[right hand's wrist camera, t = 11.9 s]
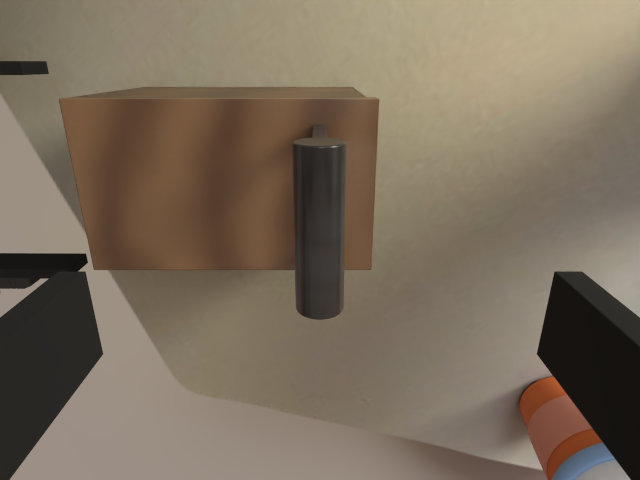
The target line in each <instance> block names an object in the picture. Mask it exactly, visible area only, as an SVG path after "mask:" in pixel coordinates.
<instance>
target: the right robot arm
mask: <svg viewBox="0 0 640 480" xmlns="http://www.w3.org/2000/svg"><path fill="white" fill-rule="evenodd" d="M102 355H103V352H102V347H101V342H100V338H99V333H98V328H97V324H96V319H95V314H94V310H93V305H92V300H91V296H90V291H89V286H88V282H87V277H86V273H85V272H57V273H56V274H54V275H53V276H52V277H51V278H49V279H48V280H47V281H46V282H44V283H43V284H42V285H41V286H39V287H38V288H37V289H36V290H34V291H33V292H32V293H31V294H29V295H28V296H27V297H26V298H24V299H23V300H22V301H21V302H19V303H18V304H17V305H16V306H14V307H13V308H12V309H11V310H9V311H8V312H7V313H6V314H4V315H3V316H2V317H1V318H0V480H10V478H11V477H12V475H13V474H14V473H15V471H16V470H17V469H18V467H19V466H20V465H21V463H22V462H23V461H24V459H25V458H26V457H27V455H28V454H29V453H30V451H31V450H32V449H33V447H34V446H35V445H36V443H37V442H38V441H39V439H40V438H41V437H42V435H43V434H44V433H45V431H46V430H47V429H48V427H49V426H50V425H51V423H52V422H53V420H54V419H55V418H56V416H57V415H58V414H59V412H60V411H61V410H62V408H63V407H64V406H65V404H66V403H67V402H68V400H69V399H70V398H71V396H72V395H73V394H74V392H75V391H76V390H77V388H78V387H79V386H80V384H81V383H82V382H83V380H84V379H85V378H86V376H87V375H88V374H89V372H90V371H91V369H92V368H93V367H94V365H95V364H96V363H97V361H98V360H99V359H100V357H101V356H102ZM537 355H538V356H539V357H540V359H541V360H542V361H543V363H544V364H545V365H546V367H547V368H548V369H549V371H550V372H551V374H552V375H553V376H554V378H555V379H556V380H557V382H558V383H559V384H560V386H561V387H562V388H563V390H564V391H565V392H566V394H567V395H568V396H569V398H570V399H571V400H572V402H573V403H574V404H575V406H576V407H577V408H578V410H579V411H580V412H581V414H582V415H583V416H584V418H585V419H586V421H587V422H588V423H589V425H590V426H591V427H592V429H593V430H594V431H595V433H596V434H597V435H598V437H599V438H600V439H601V441H602V442H603V443H604V445H605V446H606V447H607V449H608V450H609V451H610V453H611V454H612V455H613V457H614V458H615V459H616V461H617V462H618V463H619V465H620V466H621V467H622V469H623V470H624V472H625V473H626V474H627V476H628V477H629V478H630V480H640V318H639V317H638V316H637V315H636V314H634V313H633V312H632V311H631V310H629V309H628V308H627V307H626V306H624V305H623V304H622V303H621V302H619V301H618V300H617V299H616V298H614V297H613V296H612V295H611V294H609V293H608V292H607V291H606V290H604V289H603V288H602V287H601V286H599V285H598V284H597V283H596V282H594V281H593V280H592V279H591V278H589V277H588V276H587V275H586V274H584V273H583V272H554V277H553V282H552V286H551V291H550V296H549V300H548V305H547V310H546V314H545V319H544V324H543V328H542V333H541V338H540V342H539V347H538V352H537Z"/></svg>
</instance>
